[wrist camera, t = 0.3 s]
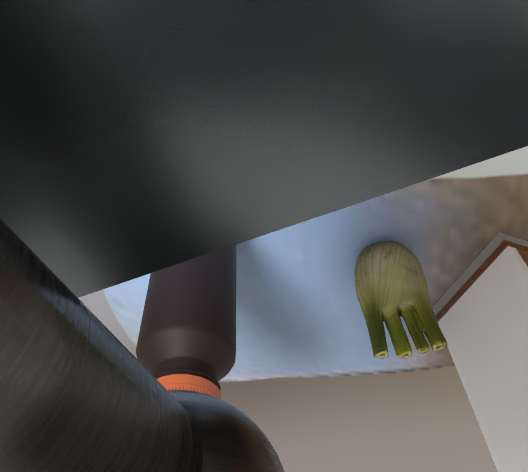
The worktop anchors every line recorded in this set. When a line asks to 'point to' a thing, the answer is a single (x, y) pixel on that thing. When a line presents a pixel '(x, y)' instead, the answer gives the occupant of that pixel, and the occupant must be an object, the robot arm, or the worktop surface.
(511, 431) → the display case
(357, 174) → the arbor press
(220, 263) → the vinegar
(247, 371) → the worktop surface
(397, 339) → the fennel bulb
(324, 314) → the worktop surface
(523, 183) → the worktop surface
